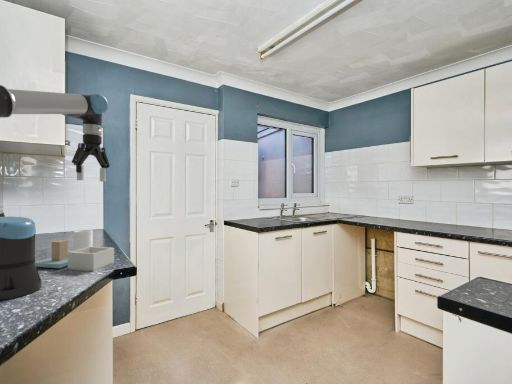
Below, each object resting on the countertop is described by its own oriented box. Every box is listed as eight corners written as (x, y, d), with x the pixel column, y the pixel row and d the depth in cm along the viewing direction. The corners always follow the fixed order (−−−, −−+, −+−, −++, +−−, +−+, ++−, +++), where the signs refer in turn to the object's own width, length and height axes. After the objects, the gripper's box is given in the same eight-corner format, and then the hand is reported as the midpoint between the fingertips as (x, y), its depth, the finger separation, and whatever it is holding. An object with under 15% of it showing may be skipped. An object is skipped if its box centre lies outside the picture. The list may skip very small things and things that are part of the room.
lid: (59, 270, 112) (59, 244, 112) (32, 268, 115) (32, 243, 114) (84, 262, 125) (84, 239, 125) (60, 260, 127) (60, 238, 127)
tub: (93, 271, 111) (93, 253, 111) (67, 269, 113) (67, 252, 113) (114, 263, 123) (114, 247, 123) (90, 262, 125) (90, 246, 125)
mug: (64, 258, 132) (64, 232, 132) (65, 254, 139) (66, 230, 139) (93, 255, 138) (93, 231, 138) (93, 252, 145) (93, 229, 145)
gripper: (77, 128, 115) (77, 179, 115) (117, 139, 140) (117, 181, 140) (61, 129, 117) (61, 179, 117) (104, 140, 141) (104, 181, 141)
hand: (92, 181), depth 128 cm, fingers open, 13 cm apart
